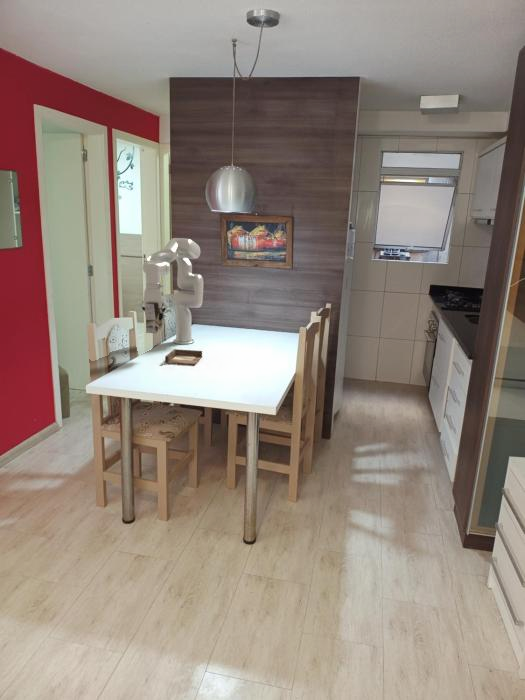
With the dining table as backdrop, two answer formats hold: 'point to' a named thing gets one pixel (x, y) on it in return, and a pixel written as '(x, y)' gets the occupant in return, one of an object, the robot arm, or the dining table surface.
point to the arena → (183, 357)
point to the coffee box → (153, 318)
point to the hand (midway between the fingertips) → (154, 319)
